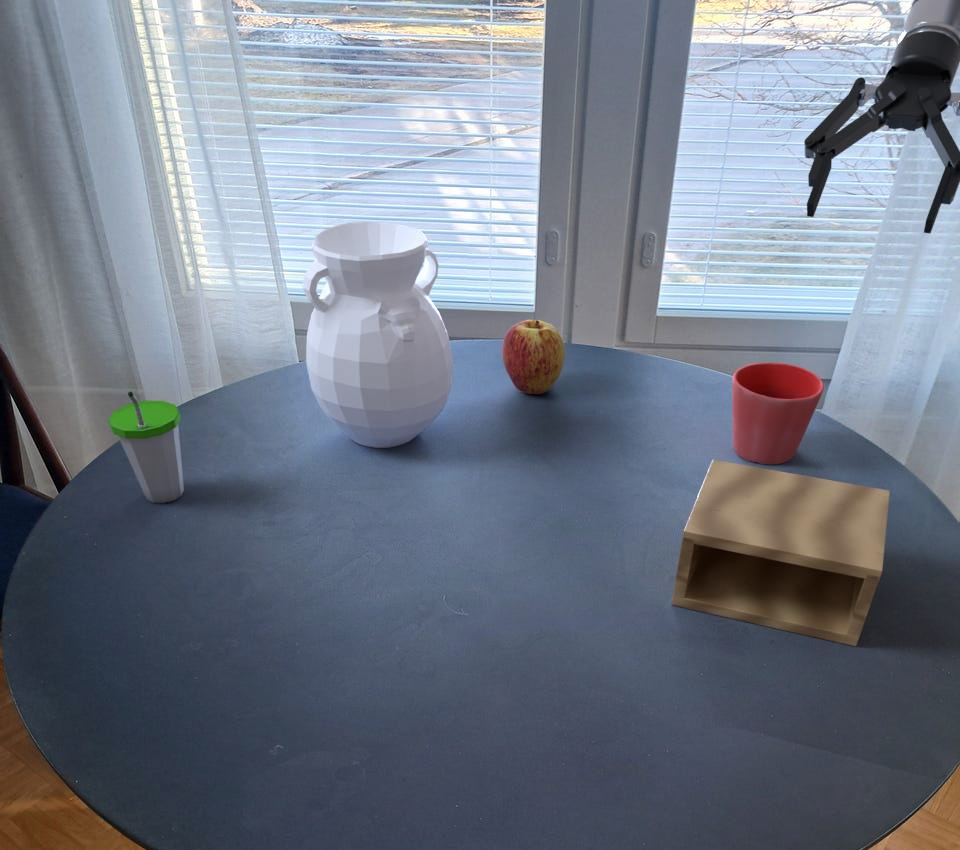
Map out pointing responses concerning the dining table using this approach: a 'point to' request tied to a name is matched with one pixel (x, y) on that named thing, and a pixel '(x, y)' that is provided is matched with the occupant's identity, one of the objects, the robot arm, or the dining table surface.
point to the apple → (533, 356)
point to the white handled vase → (376, 333)
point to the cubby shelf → (783, 551)
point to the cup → (152, 446)
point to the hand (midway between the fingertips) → (867, 218)
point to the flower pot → (772, 410)
